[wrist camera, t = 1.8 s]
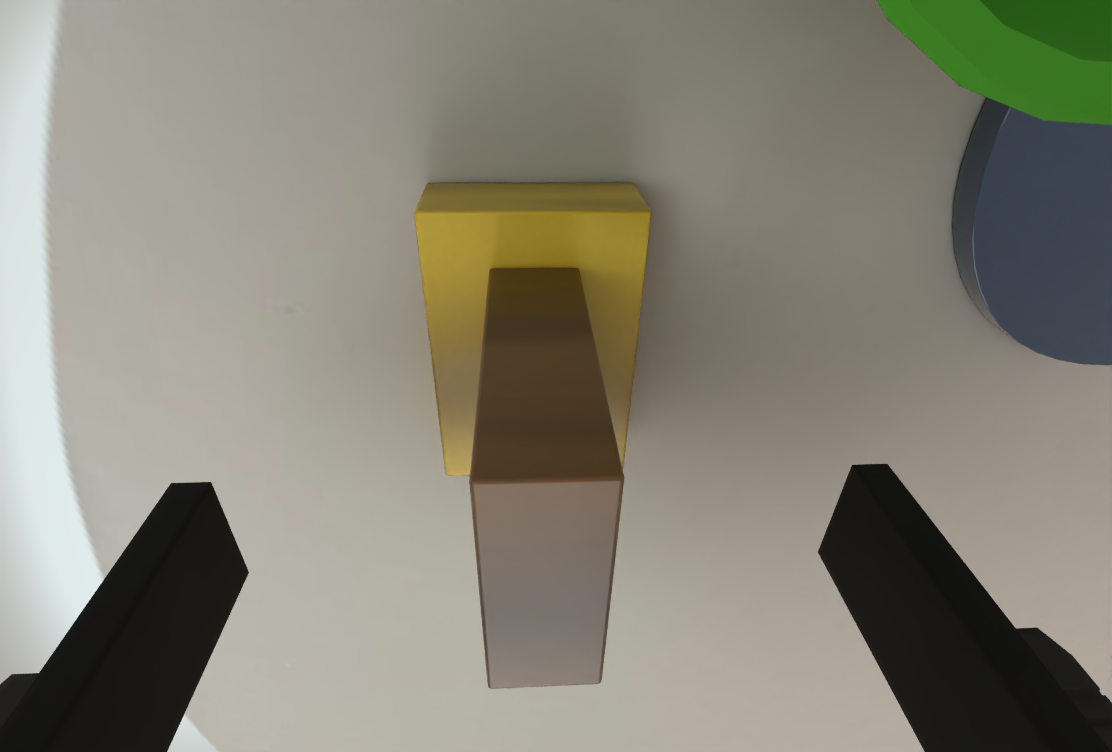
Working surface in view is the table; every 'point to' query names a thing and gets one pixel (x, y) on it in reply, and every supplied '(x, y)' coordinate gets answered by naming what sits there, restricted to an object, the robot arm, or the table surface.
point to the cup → (1019, 51)
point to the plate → (1038, 231)
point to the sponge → (537, 403)
